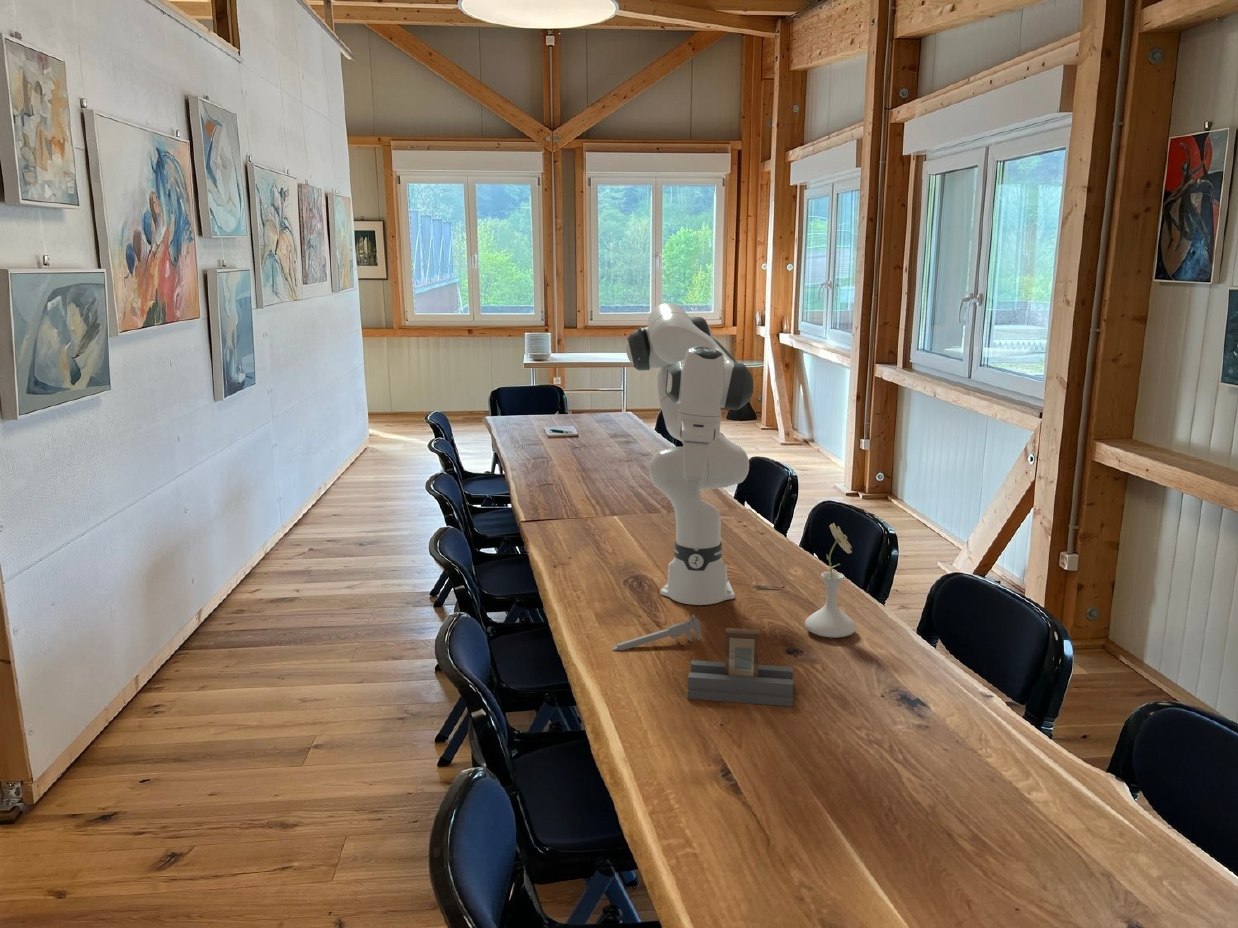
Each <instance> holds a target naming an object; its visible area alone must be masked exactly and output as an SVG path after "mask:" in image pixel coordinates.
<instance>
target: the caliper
mask: <svg viewBox="0 0 1238 928" xmlns="http://www.w3.org/2000/svg"><path fill="white" fill-rule="evenodd" d="M687 619H688V620H685V621H682V622H678V623H675V624H672V625H669V626H668V628H665V629H663V630H658V631H656V632H651V633H649V634H646V635H645V634H644V635H641V636H638V637H635V638H632V639H629V640H625V641H622V642H619V643H616V646H614V647H612V648H611V650H612V651H613V652H615V651H624V650H625V651H626V650H629V649H632V648H635V647H639V646H642V645H645V644H648V643H651V642H656V641H658V640H661V639H665V638H669V637H670V638H671V639H675V638H679V637H681V636H682V635H683V634H685V636H686V637H687V639H688V641H690V642H694V641H693V635H692V632H691V630H693V629H694V634H695V636H696V640H697V641H700V640H701V625H700V621H699V619H698V618H696V616H695V614H692V615H691V617H690V616H689V615H688V616H687Z"/></svg>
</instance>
